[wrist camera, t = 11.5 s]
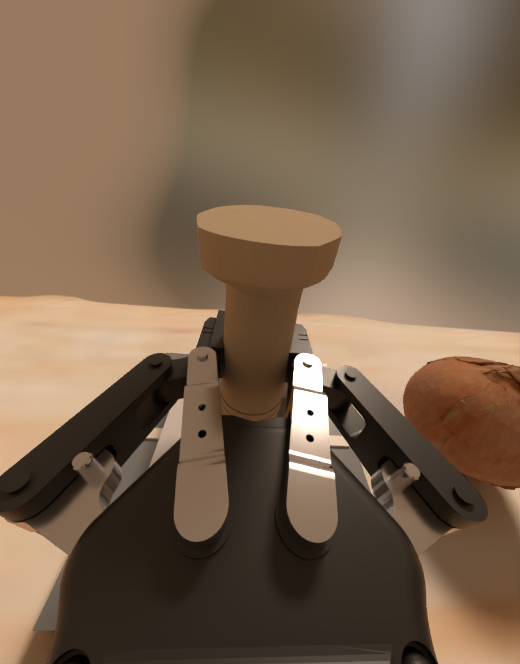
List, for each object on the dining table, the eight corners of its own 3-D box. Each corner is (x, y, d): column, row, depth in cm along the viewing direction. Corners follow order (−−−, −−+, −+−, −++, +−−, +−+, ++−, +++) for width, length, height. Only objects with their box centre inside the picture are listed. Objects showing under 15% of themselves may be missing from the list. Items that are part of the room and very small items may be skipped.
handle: (199, 471, 15) (159, 226, 6) (229, 393, 20) (233, 201, 11) (270, 490, 14) (354, 257, 5) (282, 405, 19) (333, 215, 10)
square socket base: (322, 372, 26) (334, 343, 23) (401, 623, 12) (454, 626, 9) (168, 362, 25) (161, 331, 22) (48, 629, 11) (-13, 634, 8)
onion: (522, 473, 19) (664, 407, 13) (464, 533, 15) (624, 478, 9) (420, 389, 25) (482, 318, 19) (362, 416, 22) (416, 340, 16)
